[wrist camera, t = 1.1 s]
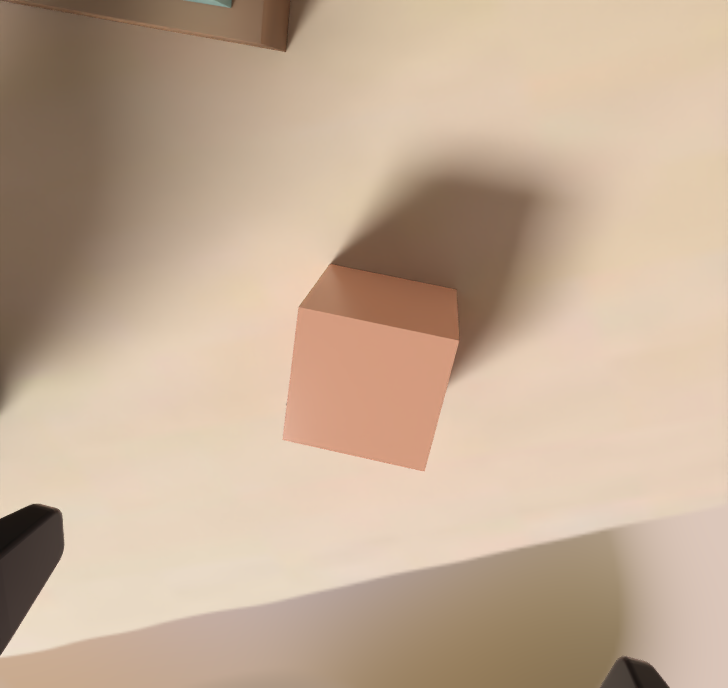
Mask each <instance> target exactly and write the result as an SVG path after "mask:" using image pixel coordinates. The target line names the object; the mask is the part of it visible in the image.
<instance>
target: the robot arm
mask: <svg viewBox="0 0 728 688" xmlns="http://www.w3.org/2000/svg"><path fill="white" fill-rule="evenodd" d="M63 550H64V533H63V519H62V513H61V511H60V510H59V509H57V508H54V507H50V506H46V505H42V504H32V505H29V506H27V507H25V508H22V509H20V510H18V511H16V512H14V513H12V514H9V515H7V516H5V517H3V518H1V519H0V655H1V654H2V652H3V651H4V649H5V648H6V646H7V645H8V643H9V642H10V640H11V639H12V637H13V635H14V634H15V632H16V630H17V629H18V627H19V626H20V624H21V622H22V621H23V619H24V617H25V616H26V614H27V613H28V611H29V609H30V608H31V606H32V604H33V603H34V601H35V600H36V598H37V596H38V595H39V593H40V591H41V590H42V588H43V587H44V585H45V583H46V582H47V580H48V578H49V577H50V575H51V574H52V572H53V570H54V569H55V567H56V566H57V564H58V562H59V560H60V558H61V556H62V554H63ZM600 688H670V687H669V686H668V685H667V684H666V682H665V681H664V680H663V679H662V677H661V676H660V675H659V673H658V672H657V671H656V670H655V669H654V667H653V666H652V665H650V664H649V663H648V662H645V661H642V660H638V659H634V658H631V657H627V656H622V657H620V658H618V659H617V660H616V662H615V664H614V665H613V667H612V668H611V670H610V672H609V673H608V675H607V677H606V678H605V680H604V681H603V683H602V685H601V687H600Z"/></svg>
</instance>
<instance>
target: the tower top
mask: <svg viewBox="0 0 728 688" xmlns="http://www.w3.org/2000/svg"><path fill="white" fill-rule="evenodd" d="M185 1H191V2H197V3H203V4H209V5H216V6H222V7H228V8H231V4H232V0H185Z"/></svg>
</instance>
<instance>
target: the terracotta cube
mask: <svg viewBox="0 0 728 688" xmlns="http://www.w3.org/2000/svg"><path fill="white" fill-rule="evenodd" d="M458 344H459V324H458V306H457V290H456V289H451V288H446V287H441V286H437V285H432V284H427V283H422V282H417V281H412V280H407V279H402V278H397V277H392V276H387V275H382V274H377V273H373V272H368V271H363V270H358V269H353V268H348V267H343V266H338V265H333V264H330V265H329V266H328V267H327V269H326V270H325V271H324V273H323V274H322V276H321V277H320V278H319V280H318V281H317V283H316V284H315V285H314V287H313V288H312V289H311V291H310V292H309V294H308V295H307V296H306V298H305V299H304V300H303V302H302V303H301V305H300V306H299V309H298V317H297V325H296V333H295V342H294V350H293V358H292V366H291V375H290V383H289V391H288V399H287V408H286V416H285V424H284V432H283V440H286V441H291V442H295V443H300V444H304V445H308V446H313V447H317V448H322V449H326V450H331V451H335V452H340V453H344V454H349V455H353V456H358V457H362V458H367V459H371V460H375V461H380V462H384V463H389V464H393V465H398V466H402V467H407V468H411V469H416V470H420V471H425V467H426V464H427V460H428V456H429V452H430V449H431V445H432V441H433V437H434V434H435V430H436V426H437V422H438V419H439V415H440V411H441V408H442V404H443V400H444V396H445V393H446V389H447V385H448V381H449V378H450V374H451V370H452V366H453V363H454V359H455V355H456V351H457V348H458Z"/></svg>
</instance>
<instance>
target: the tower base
mask: <svg viewBox="0 0 728 688" xmlns="http://www.w3.org/2000/svg"><path fill="white" fill-rule="evenodd" d="M0 1H6V2H11V3H17V4H22V5H28V6H34V7H39V8H45V9H50V10H56V11H61V12H67V13H73V14H78V15H84V16H89V17H95V18H100V19H106V20H111V21H117V22H123V23H128V24H134V25H139V26H145V27H150V28H156V29H162V30H167V31H173V32H178V33H184V34H189V35H195V36H200V37H206V38H212V39H217V40H223V41H228V42H234V43H239V44H245V45H251V46H256V47H262V48H267V49H273V50H278V51H284V52H286V43H287V32H288V21H289V9H290V0H232V4H231V8H228V7H222V6H216V5H209V4H203V3H197V2H191V1H185V0H0Z"/></svg>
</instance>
